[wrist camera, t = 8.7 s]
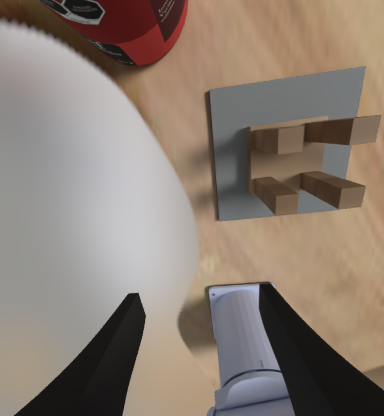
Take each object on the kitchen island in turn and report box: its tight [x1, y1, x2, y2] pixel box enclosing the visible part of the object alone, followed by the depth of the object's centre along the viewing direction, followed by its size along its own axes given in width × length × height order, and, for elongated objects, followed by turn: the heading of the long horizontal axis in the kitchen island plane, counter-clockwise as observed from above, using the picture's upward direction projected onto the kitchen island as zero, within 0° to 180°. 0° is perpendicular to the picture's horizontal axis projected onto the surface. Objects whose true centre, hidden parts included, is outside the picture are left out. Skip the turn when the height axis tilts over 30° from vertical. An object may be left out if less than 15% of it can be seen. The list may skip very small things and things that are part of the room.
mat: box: [209, 66, 366, 221], centre depth 17 cm, size 12×12×1 cm
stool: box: [247, 115, 381, 216], centre depth 14 cm, size 6×6×6 cm
